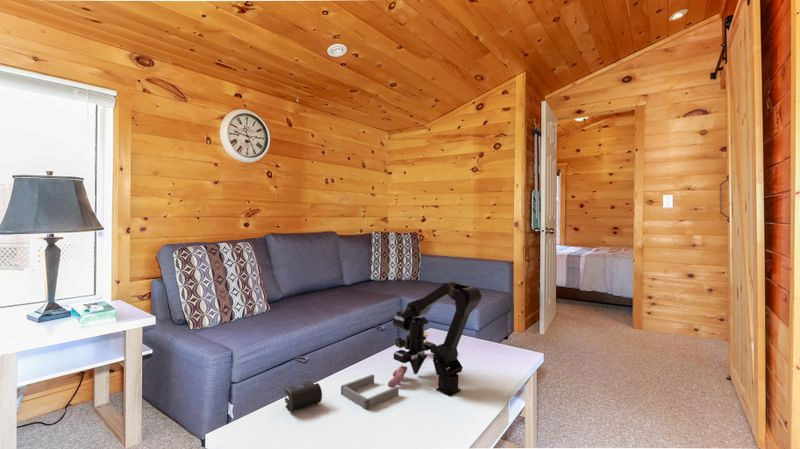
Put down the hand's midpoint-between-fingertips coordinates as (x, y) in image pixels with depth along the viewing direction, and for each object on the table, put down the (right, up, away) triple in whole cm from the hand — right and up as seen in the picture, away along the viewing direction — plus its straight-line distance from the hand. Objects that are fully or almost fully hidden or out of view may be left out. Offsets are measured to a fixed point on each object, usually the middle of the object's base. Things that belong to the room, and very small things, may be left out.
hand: (415, 373), depth 147 cm
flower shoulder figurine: (+3, -1, +23) cm, 23 cm away
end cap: (-37, -1, -24) cm, 44 cm away
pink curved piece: (-7, -1, -5) cm, 9 cm away
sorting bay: (-16, -1, -16) cm, 23 cm away
